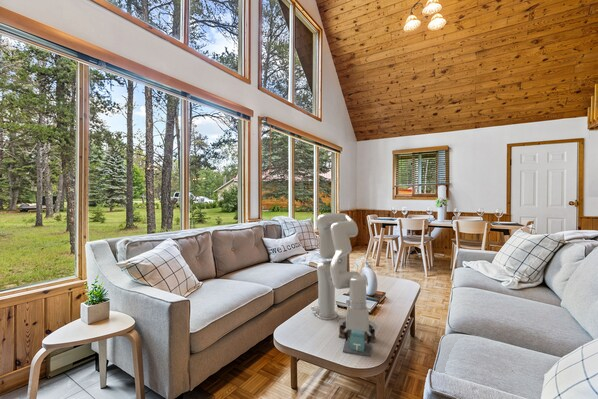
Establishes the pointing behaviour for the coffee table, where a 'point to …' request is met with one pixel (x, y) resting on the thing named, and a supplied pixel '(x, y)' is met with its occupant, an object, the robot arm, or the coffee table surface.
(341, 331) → the screen
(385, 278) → the coffee table surface
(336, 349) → the coffee table surface
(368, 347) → the mat
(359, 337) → the letter cube
